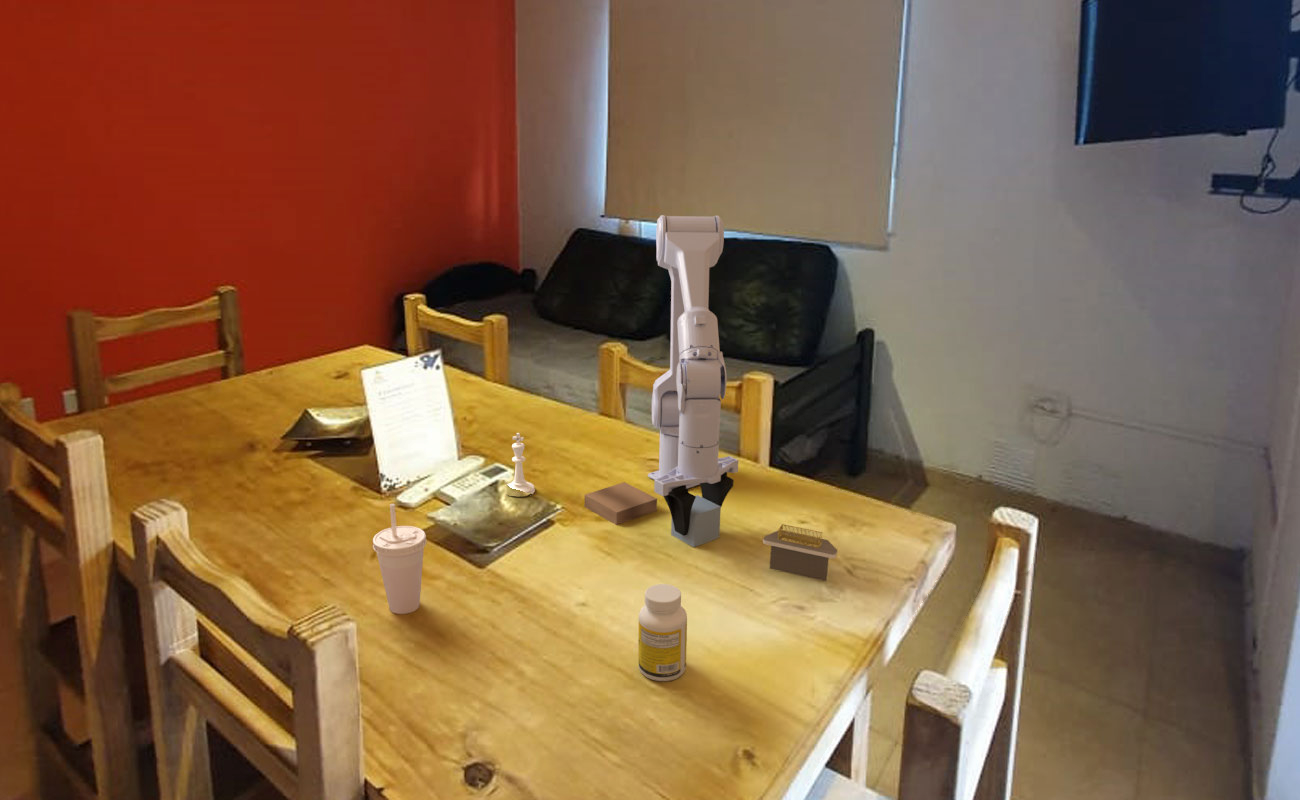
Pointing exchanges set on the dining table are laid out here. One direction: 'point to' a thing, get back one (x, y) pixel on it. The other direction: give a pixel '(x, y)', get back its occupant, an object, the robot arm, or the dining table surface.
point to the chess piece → (520, 468)
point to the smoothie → (401, 564)
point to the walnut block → (620, 503)
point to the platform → (800, 553)
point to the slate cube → (701, 523)
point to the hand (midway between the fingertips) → (695, 527)
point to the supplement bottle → (662, 634)
